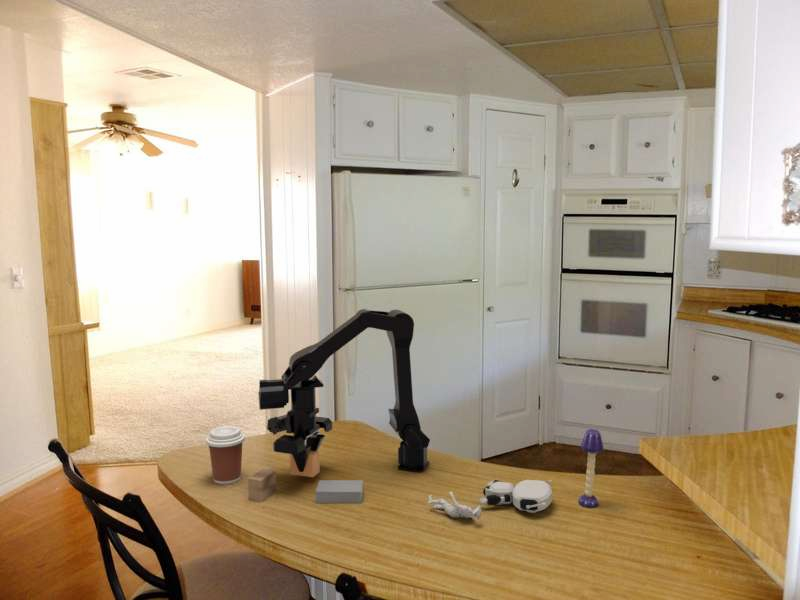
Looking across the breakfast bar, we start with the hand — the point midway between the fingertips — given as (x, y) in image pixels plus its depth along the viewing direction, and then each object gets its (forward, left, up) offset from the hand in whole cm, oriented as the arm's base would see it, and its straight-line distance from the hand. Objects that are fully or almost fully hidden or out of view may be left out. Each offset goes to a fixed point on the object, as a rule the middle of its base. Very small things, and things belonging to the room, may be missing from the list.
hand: (305, 468), depth 152 cm
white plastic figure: (-39, +6, -3) cm, 39 cm away
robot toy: (-50, -4, -3) cm, 50 cm away
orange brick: (0, 0, -1) cm, 1 cm away
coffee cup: (+18, +6, -3) cm, 19 cm away
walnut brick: (+5, +11, -3) cm, 12 cm away
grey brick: (-12, +6, -3) cm, 14 cm away
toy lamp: (-65, -9, -3) cm, 66 cm away
